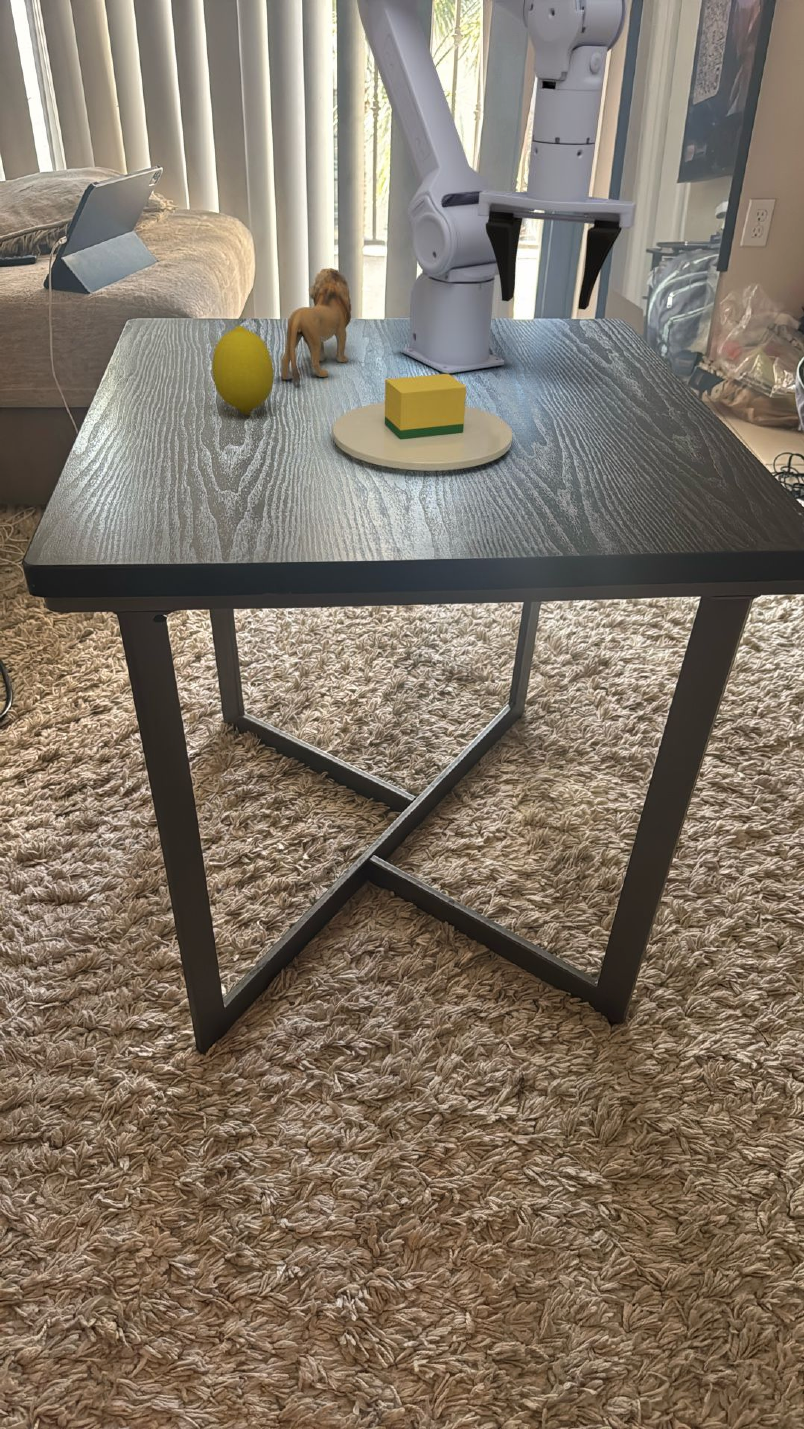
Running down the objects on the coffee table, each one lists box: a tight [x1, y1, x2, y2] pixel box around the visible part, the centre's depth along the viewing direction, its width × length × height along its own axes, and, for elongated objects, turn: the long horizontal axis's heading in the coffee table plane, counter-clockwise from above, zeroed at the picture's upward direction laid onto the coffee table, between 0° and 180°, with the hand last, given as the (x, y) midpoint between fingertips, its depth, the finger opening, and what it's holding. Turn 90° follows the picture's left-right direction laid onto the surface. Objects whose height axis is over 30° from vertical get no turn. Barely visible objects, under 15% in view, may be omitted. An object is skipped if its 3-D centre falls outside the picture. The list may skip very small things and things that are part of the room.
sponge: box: [384, 373, 467, 439], centre depth 80 cm, size 4×6×4 cm, turn 111°
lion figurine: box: [281, 267, 352, 384], centre depth 96 cm, size 15×5×9 cm, turn 168°
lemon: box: [212, 325, 274, 416], centre depth 84 cm, size 6×6×8 cm
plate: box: [332, 401, 514, 472], centre depth 81 cm, size 16×16×1 cm
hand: (545, 303), depth 90 cm, fingers open, 7 cm apart
